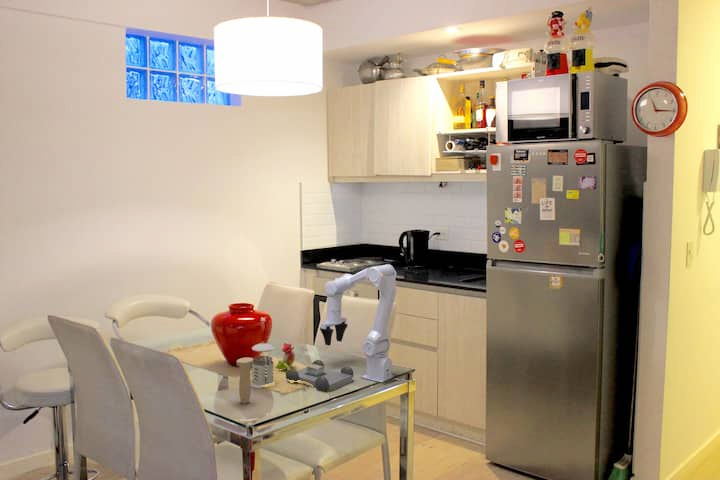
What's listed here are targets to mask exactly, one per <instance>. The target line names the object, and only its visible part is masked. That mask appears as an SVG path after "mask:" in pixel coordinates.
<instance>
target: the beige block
mask: <svg viewBox="0 0 720 480" xmlns="http://www.w3.org/2000/svg"><path fill="white" fill-rule="evenodd" d="M306 367H307V375H310V376H314V377H321V376H323V375H324V369H325V365H324V366H319V365H315V364H310V365H307V366H306Z"/></svg>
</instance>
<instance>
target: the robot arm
mask: <svg viewBox="0 0 720 480" xmlns="http://www.w3.org/2000/svg"><path fill="white" fill-rule="evenodd" d="M396 277H397V271H396V270H395V267H393V265H391V264H390V263H386V264H382V265H376V266H371V267H367V268H364V269H362V270H361V271H359V272H356V273H355V274H351V273H344V274H342V276H341V277H336V278H334V280H330V281H327V282H326V283H325V285H324V291H325V293H326V296H327V298H326V299H327V300H326V301H327V302H326V303H327V304H326V305H327V307H326V319H325V321H324V322H322V323H321V324H320V327H319V331H320V332H321V334H322V336H323V340H324V345H325V346H331V344H332V336H333V333H334V331H335V337H336V338H335V339H336V342H342V341H343V337H344V335H345V331H346V330H347V328H348V323H347V317H343V316H342V303H343V302H342V300H343V299H342V298H343V294H344V293H345V292H346V291H349V290H352V289H353V288H355V287H356V285H357V284H358V283H360V282H363V281H365V280H367V281H369V282H370V283H371V284H372V285H373V286H374V287H375V288H376V289H377V290H378V291H379V292H380V296H379V300H378V304H377V308H376V313H375V317H374V321H373V325H372V330H371V331H370V333H368V335H367V336H366V339H365V341H364V342H363V344H362V350H363V352H364V354H365V357H366V365H365V367H366V370H365V372H366V373H365V374H364V375H362V376H361V378H362V379H365V380H369V381H374V382H378V383H384V382H386V381H389V380H390V379H392V378H393V377H394V376H393V375H392V374H393V372H392V371H393V361H392V359H391V358H390V357H388V356H387V352H388V351H389V350H390V346H391V345H390V344H391V343H390V338H391V336H390V335H389V334H388V332H387V331H388V328H389V324H390V320H391V315H392V311H393V307H394V304H395V303H394V302H395V299H396V295H397V284H396V279H397V278H396ZM331 327H334V328H335V329H332V328H331Z"/></svg>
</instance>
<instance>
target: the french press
mask: <svg viewBox="0 0 720 480" xmlns="http://www.w3.org/2000/svg"><path fill="white" fill-rule="evenodd" d="M260 322H262V323H265V322H267V321H266V318H265V317H262V318H260ZM251 349H252V351H253V352H258V353H268V352H271V351H273V350H274V349H275V347H274V346H273V345H271V344H270V343H265V342H261V343H260V342H259V343H258V344H255V345H253V346H252V347H251ZM252 358H253V359H254V362H253V364H252V365H251V367H252V368H251V369H252V370H251V371H252V373H251V374H252V375H251V377H252V379H251V381H252V382H251V388H257V389H262V388H261V385H265V384H269V383H272V382H273V381H274V361H273V357H272V356H270V354H269V353H268V355H265V354H263V355H257V356H254V357H252Z"/></svg>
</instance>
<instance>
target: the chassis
mask: <svg viewBox="0 0 720 480" xmlns="http://www.w3.org/2000/svg"><path fill="white" fill-rule="evenodd" d="M312 364H315V365H319V366H324V367H325V363H324V362H323V361H322V360H321V359H316V360H314V361H313V362H312ZM312 364H311V365H312ZM285 378H286V380H287V379H289V380H294V381H297V380H301V381H305V382H308V383H310V384H312V385H313V387H312V388H315V389H316V390H318V391H319V392H323V391H326V392H332V391H335V390H336V389H337V390H338V389H339V388H341V387H344V386H346V385H348V384H351V383H353V378H354V370H353V369H352V367H350V366H344V367H343V368H341V370H340V372H339V371H335V370H330V369H327V368H324V375H323V376H321V377H314V376H310V375H307V366H306V367H303V368H301V369H298V370H296V369H293V368H291V370H286V373H285Z"/></svg>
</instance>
